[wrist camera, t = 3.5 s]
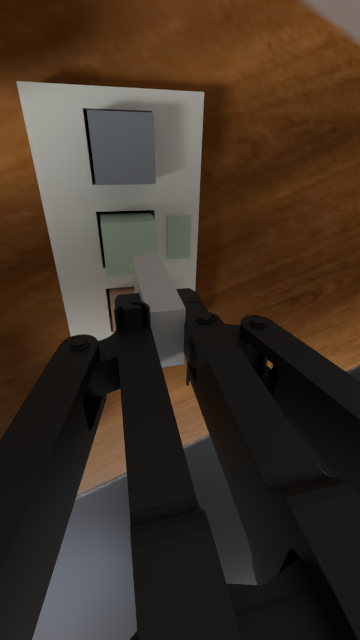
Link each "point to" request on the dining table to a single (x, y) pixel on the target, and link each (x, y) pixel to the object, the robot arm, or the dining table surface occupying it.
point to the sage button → (127, 240)
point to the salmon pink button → (113, 295)
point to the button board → (112, 188)
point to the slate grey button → (122, 146)
